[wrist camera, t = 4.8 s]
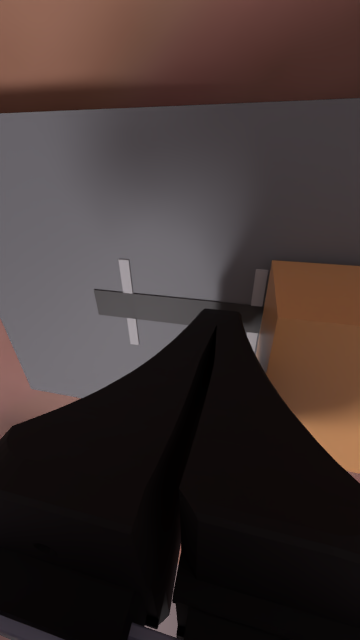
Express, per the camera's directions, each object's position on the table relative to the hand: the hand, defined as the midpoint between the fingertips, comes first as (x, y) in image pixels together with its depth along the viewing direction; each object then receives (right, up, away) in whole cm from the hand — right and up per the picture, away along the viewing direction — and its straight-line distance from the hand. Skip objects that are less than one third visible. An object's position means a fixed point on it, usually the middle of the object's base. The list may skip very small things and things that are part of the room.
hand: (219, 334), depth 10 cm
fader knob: (+3, 0, 0) cm, 3 cm away
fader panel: (+1, +1, +2) cm, 2 cm away
